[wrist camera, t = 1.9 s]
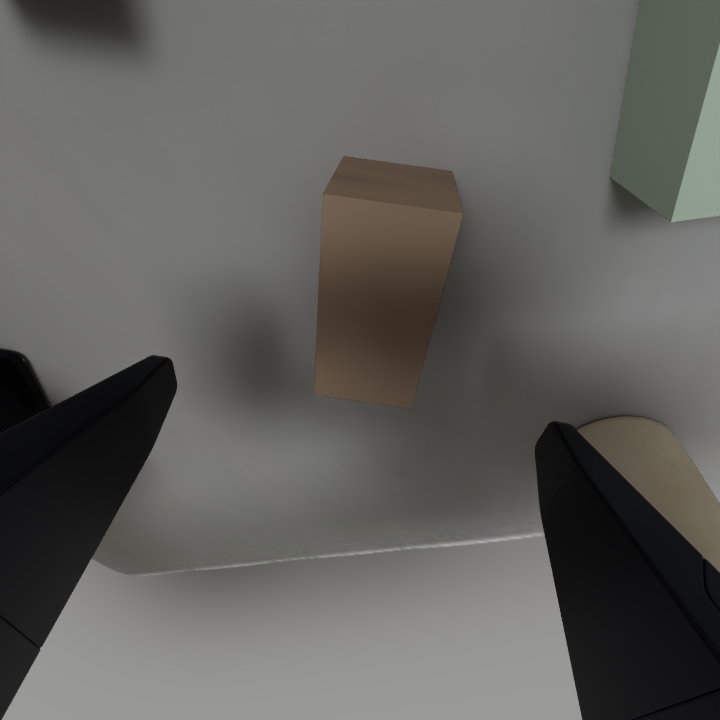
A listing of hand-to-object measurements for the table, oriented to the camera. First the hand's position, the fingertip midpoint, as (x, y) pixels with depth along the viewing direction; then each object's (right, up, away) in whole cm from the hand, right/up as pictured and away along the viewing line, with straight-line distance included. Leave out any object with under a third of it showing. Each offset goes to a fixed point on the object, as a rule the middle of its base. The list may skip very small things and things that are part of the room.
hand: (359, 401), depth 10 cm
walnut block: (+1, +5, +6) cm, 7 cm away
